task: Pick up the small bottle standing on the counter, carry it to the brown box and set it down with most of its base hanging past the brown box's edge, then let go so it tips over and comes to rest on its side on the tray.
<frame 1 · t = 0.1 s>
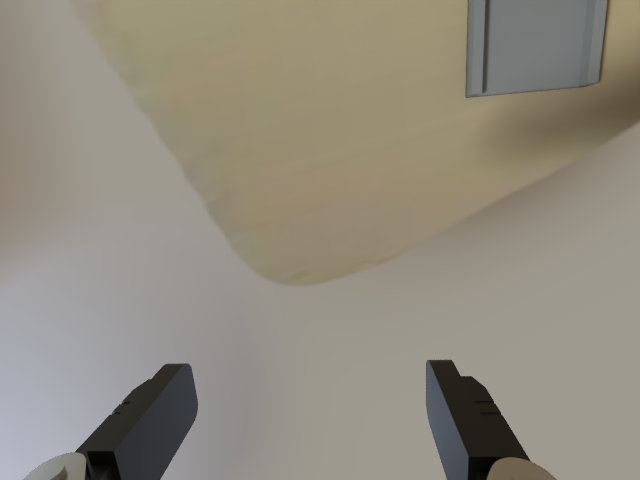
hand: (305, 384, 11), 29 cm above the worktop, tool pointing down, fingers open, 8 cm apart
tray: (527, 39, 33), on the worktop
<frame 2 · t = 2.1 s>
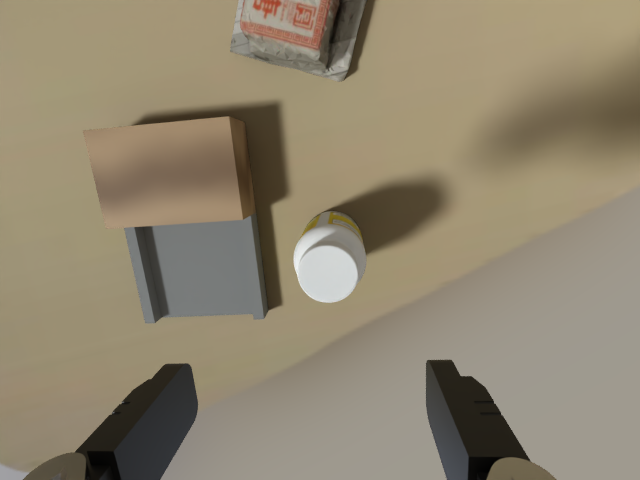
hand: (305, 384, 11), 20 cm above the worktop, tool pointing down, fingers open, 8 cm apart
supplement bottle: (333, 238, 31), on the worktop
tray: (203, 266, 32), on the worktop
brown box: (187, 173, 30), on the worktop
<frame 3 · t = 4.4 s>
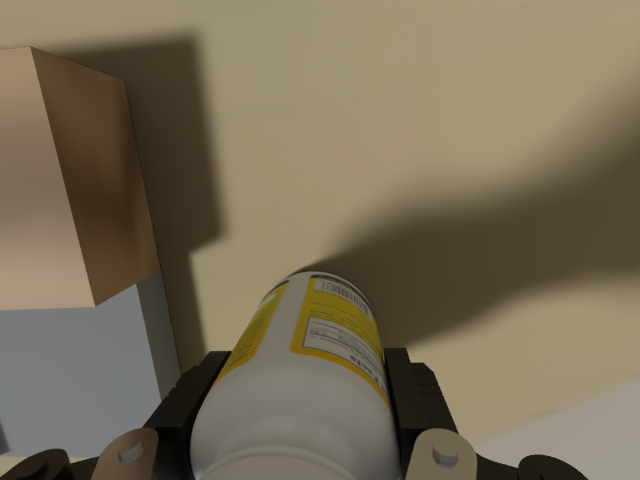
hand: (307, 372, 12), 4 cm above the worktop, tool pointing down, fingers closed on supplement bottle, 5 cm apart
supplement bottle: (317, 322, 15), on the worktop, touching gripper
tray: (67, 367, 17), on the worktop
brown box: (17, 190, 15), on the worktop
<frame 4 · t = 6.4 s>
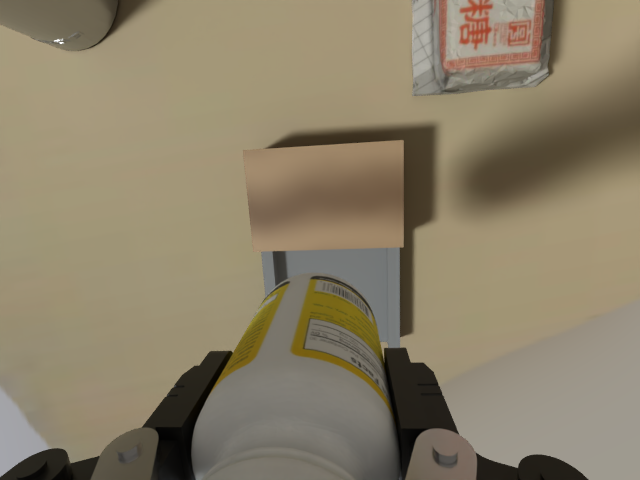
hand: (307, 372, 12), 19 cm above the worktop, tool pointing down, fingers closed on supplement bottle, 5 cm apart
supplement bottle: (317, 323, 15), point 15 cm above the worktop, touching gripper
tray: (332, 290, 31), on the worktop
brown box: (327, 194, 29), on the worktop
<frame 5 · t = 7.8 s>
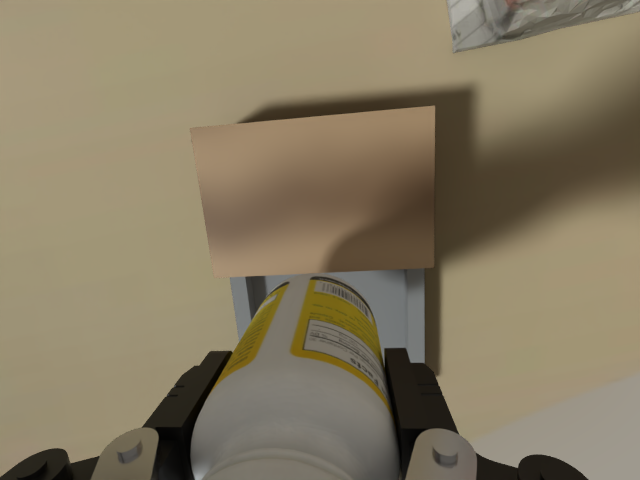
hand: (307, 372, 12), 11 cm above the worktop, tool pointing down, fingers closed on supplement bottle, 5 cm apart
supplement bottle: (317, 323, 15), point 7 cm above the worktop, touching gripper
tray: (330, 321, 23), on the worktop
brown box: (320, 192, 21), on the worktop
when the fingers open (8 cm above the worktop, at t = 8.7 s): supplement bottle drops 1 cm, resting on tray.
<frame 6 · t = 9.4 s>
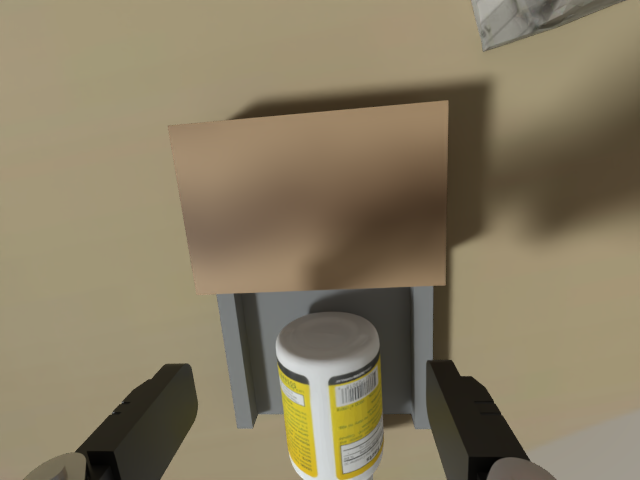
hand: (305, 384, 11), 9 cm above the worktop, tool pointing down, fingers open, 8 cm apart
supplement bottle: (326, 327, 17), point 3 cm above the worktop, touching tray
tray: (328, 339, 21), on the worktop
brown box: (317, 197, 19), on the worktop
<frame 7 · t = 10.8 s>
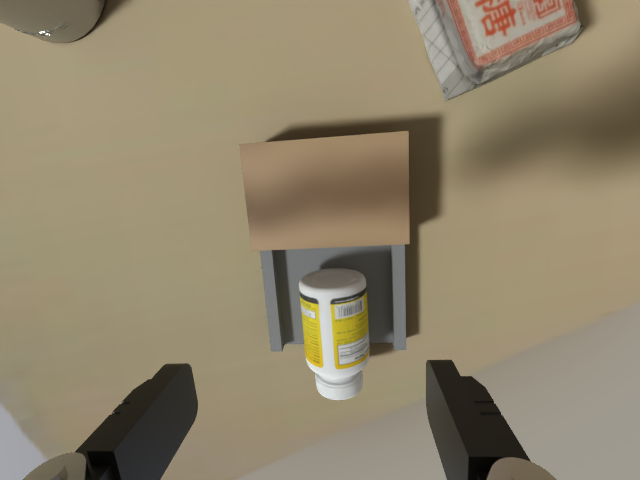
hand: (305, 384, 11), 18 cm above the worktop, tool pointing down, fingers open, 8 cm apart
supplement bottle: (332, 274, 26), point 3 cm above the worktop, touching tray
tray: (334, 290, 30), on the worktop
brown box: (328, 190, 28), on the worktop
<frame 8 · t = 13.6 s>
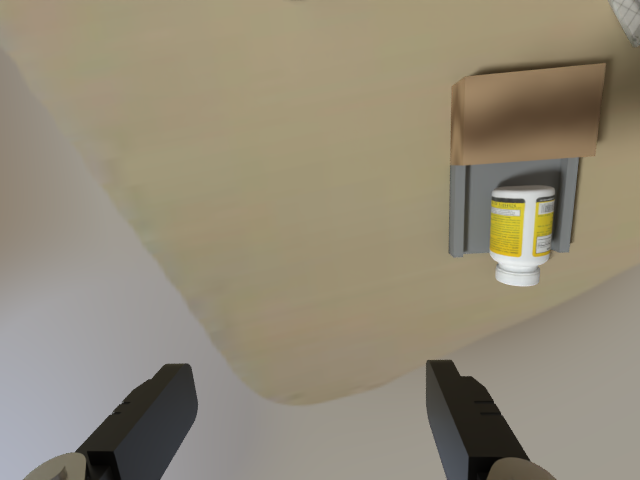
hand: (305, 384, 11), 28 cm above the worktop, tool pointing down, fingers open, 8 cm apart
supplement bottle: (522, 185, 32), point 3 cm above the worktop, touching tray
tray: (505, 207, 36), on the worktop
brown box: (510, 121, 34), on the worktop
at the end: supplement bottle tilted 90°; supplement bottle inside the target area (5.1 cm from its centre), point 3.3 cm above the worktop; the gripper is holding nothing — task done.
